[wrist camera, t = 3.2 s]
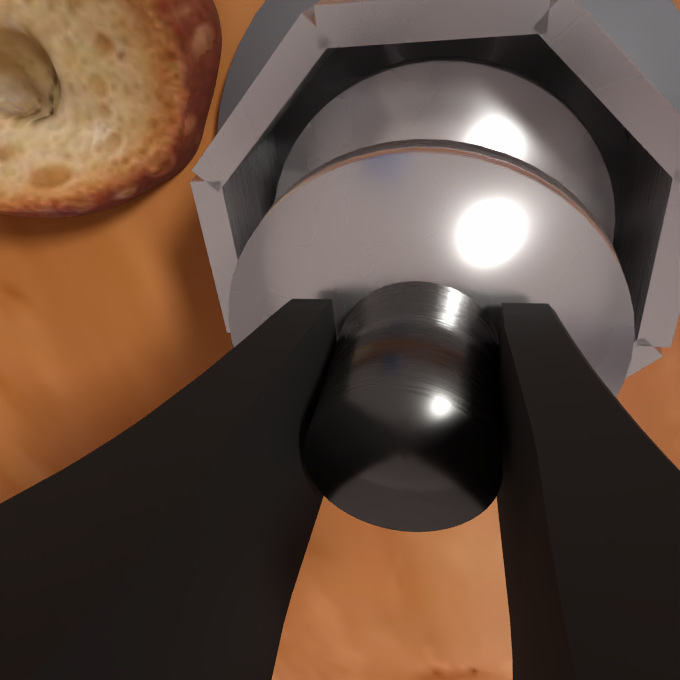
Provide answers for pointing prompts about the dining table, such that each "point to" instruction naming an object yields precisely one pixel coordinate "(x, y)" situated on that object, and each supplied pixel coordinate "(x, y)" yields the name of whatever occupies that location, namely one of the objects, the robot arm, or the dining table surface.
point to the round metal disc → (602, 3)
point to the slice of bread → (100, 99)
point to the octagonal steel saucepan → (478, 42)
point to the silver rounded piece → (434, 274)
